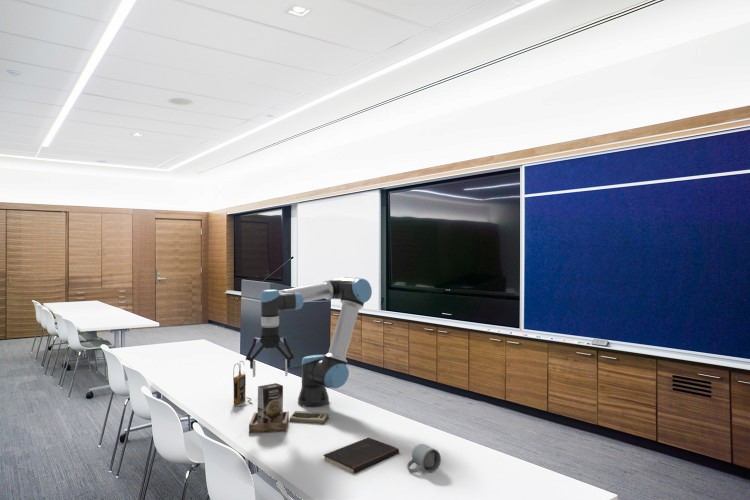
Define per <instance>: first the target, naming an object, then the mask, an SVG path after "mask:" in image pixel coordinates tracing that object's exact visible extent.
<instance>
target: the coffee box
mask: <svg viewBox="0 0 750 500" xmlns="http://www.w3.org/2000/svg"><path fill="white" fill-rule="evenodd" d="M283 405H284V385H282V384H280V383H276V382H275V383H269V384H264V385H259V386H257V412H258V413H257V412H256V413H257V423H283V412H284V409H283V407H284V406H283Z"/></svg>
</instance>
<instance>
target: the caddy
mask: <svg viewBox="0 0 750 500" xmlns="http://www.w3.org/2000/svg"><path fill="white" fill-rule="evenodd" d="M257 413H258V411H257V412H254V413H253V414H252V417H251V419H250V421H249V423H248V433H249V434H260V433H261V434H262V433H263V434H264V433H286V432H287V429H288V425H289V421H290V415H289V414H290V412H289V411H283V423H257Z"/></svg>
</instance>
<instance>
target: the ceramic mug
mask: <svg viewBox="0 0 750 500" xmlns="http://www.w3.org/2000/svg"><path fill="white" fill-rule="evenodd" d="M441 461H442V458H441V453H440V452H439V450H438V449H435V448H433V447H431V446H429V445H427V444H423V443H420V444H417V445H416V446H414V448H413V449H412V452H411V460H410V461H408V462H407V465H406V468H407V470H408V472H409V473H412V474H413V473H414V474H415V473H418V472H420V471H421V470H423V471H424V472H425V473H428V474H431V473H435V472H436V471H437V470H438V469H439V468H440V465H441ZM414 464H415V465H416V467H413V468H411V466H412V465H414Z"/></svg>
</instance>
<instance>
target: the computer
mask: <svg viewBox="0 0 750 500" xmlns="http://www.w3.org/2000/svg"><path fill="white" fill-rule="evenodd" d="M329 417H330V415H329V412H322V411H321V412H318V411H305V410H295V411H294V412H293V413H292V414H291V416H289V422H290V423H303V424H304V423H305V424H317V425H325V424H326V422H327V421H328V420H329V419H330V418H329Z"/></svg>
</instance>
